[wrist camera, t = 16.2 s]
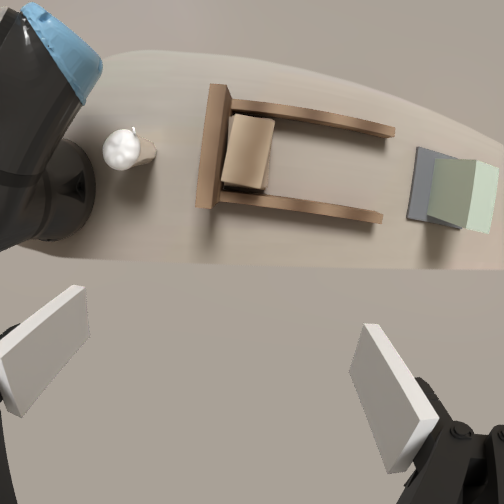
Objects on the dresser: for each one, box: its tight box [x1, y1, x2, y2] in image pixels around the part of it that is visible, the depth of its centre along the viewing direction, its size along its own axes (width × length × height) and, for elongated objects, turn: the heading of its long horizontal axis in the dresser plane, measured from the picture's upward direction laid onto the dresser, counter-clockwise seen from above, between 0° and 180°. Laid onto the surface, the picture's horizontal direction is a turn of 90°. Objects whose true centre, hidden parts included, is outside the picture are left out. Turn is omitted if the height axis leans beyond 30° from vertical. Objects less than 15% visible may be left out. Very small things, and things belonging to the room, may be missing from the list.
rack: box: [195, 84, 395, 224], centre depth 35 cm, size 22×12×10 cm, turn 83°
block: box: [427, 159, 499, 234], centre depth 34 cm, size 4×8×10 cm, turn 173°
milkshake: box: [103, 126, 157, 170], centre depth 35 cm, size 4×5×10 cm
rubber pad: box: [406, 147, 462, 229], centre depth 40 cm, size 10×10×1 cm
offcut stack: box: [221, 114, 275, 190], centre depth 37 cm, size 5×9×6 cm, turn 173°
